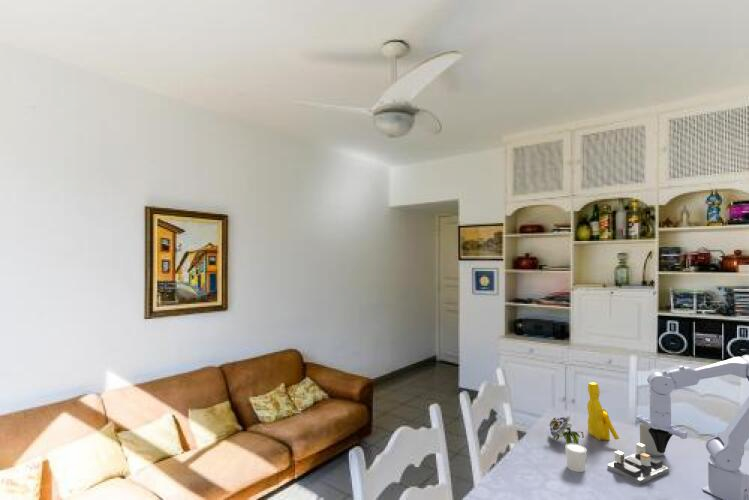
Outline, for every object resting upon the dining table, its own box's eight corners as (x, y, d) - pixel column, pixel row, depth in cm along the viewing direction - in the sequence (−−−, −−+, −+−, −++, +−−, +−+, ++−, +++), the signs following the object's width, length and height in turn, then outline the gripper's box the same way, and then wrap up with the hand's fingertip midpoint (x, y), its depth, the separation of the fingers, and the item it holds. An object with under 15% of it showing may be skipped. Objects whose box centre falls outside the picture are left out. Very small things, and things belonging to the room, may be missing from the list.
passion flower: (554, 453, 161) (542, 422, 168) (581, 448, 162) (567, 417, 168) (562, 449, 152) (549, 416, 159) (590, 443, 152) (576, 410, 159)
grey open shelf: (668, 472, 137) (668, 453, 137) (640, 485, 131) (639, 465, 130) (635, 457, 147) (635, 439, 147) (607, 468, 140) (607, 450, 140)
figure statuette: (623, 447, 155) (623, 390, 155) (604, 448, 154) (604, 391, 154) (593, 426, 173) (593, 375, 173) (576, 428, 172) (575, 376, 172)
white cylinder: (575, 474, 137) (575, 453, 137) (560, 464, 144) (560, 444, 144) (591, 471, 139) (591, 450, 139) (576, 461, 146) (576, 441, 146)
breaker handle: (650, 465, 136) (650, 455, 136) (646, 466, 135) (646, 456, 135) (644, 462, 138) (644, 452, 138) (640, 463, 137) (640, 454, 137)
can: (668, 458, 146) (668, 425, 146) (645, 456, 148) (645, 424, 148) (658, 448, 154) (658, 417, 154) (636, 446, 155) (636, 415, 155)
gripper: (630, 405, 137) (631, 444, 137) (677, 421, 124) (678, 465, 124) (643, 401, 140) (643, 440, 140) (690, 416, 127) (691, 459, 127)
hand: (661, 451), depth 132 cm, fingers closed
